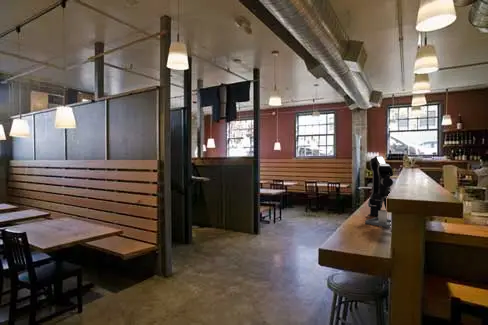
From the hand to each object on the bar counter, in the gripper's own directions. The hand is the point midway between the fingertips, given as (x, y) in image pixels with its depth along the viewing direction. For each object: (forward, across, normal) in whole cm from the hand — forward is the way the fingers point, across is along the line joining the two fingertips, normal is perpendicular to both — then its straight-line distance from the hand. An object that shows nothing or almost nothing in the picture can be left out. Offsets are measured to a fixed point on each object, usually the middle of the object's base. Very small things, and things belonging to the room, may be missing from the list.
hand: (382, 209), depth 197 cm
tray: (+9, 0, 0) cm, 9 cm away
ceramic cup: (+8, 0, 0) cm, 8 cm away
